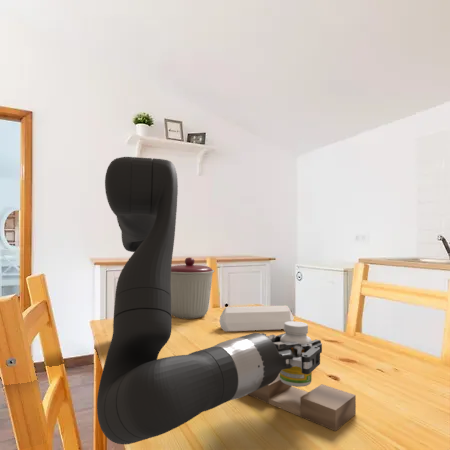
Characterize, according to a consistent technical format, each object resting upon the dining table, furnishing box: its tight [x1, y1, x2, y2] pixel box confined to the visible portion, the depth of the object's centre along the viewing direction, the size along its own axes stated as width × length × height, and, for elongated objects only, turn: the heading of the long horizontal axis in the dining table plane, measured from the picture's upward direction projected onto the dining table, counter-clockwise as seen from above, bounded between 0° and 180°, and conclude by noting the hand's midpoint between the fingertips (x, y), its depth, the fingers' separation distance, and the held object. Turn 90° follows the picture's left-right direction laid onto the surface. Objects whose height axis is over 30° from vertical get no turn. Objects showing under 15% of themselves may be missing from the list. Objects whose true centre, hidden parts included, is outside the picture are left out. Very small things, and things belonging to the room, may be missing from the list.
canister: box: [171, 257, 215, 320], centre depth 125 cm, size 18×18×21 cm
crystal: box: [219, 305, 295, 333], centre depth 109 cm, size 7×7×24 cm
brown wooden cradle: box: [246, 373, 357, 432], centre depth 59 cm, size 7×18×3 cm, turn 46°
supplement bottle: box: [280, 320, 313, 388], centre depth 59 cm, size 5×5×10 cm
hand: (303, 342), depth 61 cm, fingers closed on supplement bottle, 5 cm apart
